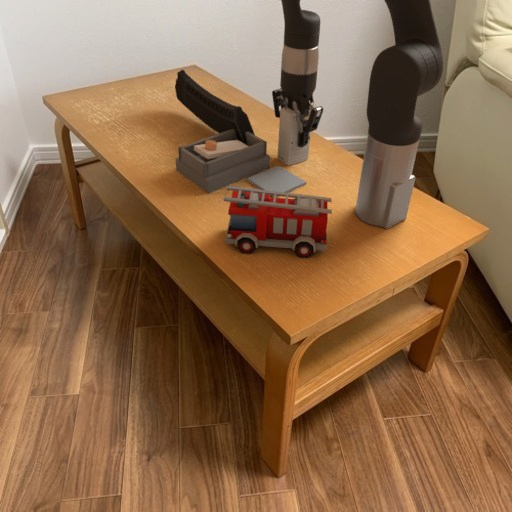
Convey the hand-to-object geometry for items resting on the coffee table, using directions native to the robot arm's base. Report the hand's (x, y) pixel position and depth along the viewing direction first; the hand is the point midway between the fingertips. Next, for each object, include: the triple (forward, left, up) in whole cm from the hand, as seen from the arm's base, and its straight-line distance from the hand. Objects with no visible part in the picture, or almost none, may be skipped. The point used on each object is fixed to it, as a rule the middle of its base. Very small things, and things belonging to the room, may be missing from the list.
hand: (294, 141), depth 124 cm
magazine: (+22, +5, -3) cm, 23 cm away
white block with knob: (+6, +15, +1) cm, 17 cm away
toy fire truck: (-21, +24, -5) cm, 32 cm away
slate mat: (-5, +10, -4) cm, 12 cm away
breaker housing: (+6, +15, -4) cm, 17 cm away
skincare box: (0, 0, -5) cm, 5 cm away
